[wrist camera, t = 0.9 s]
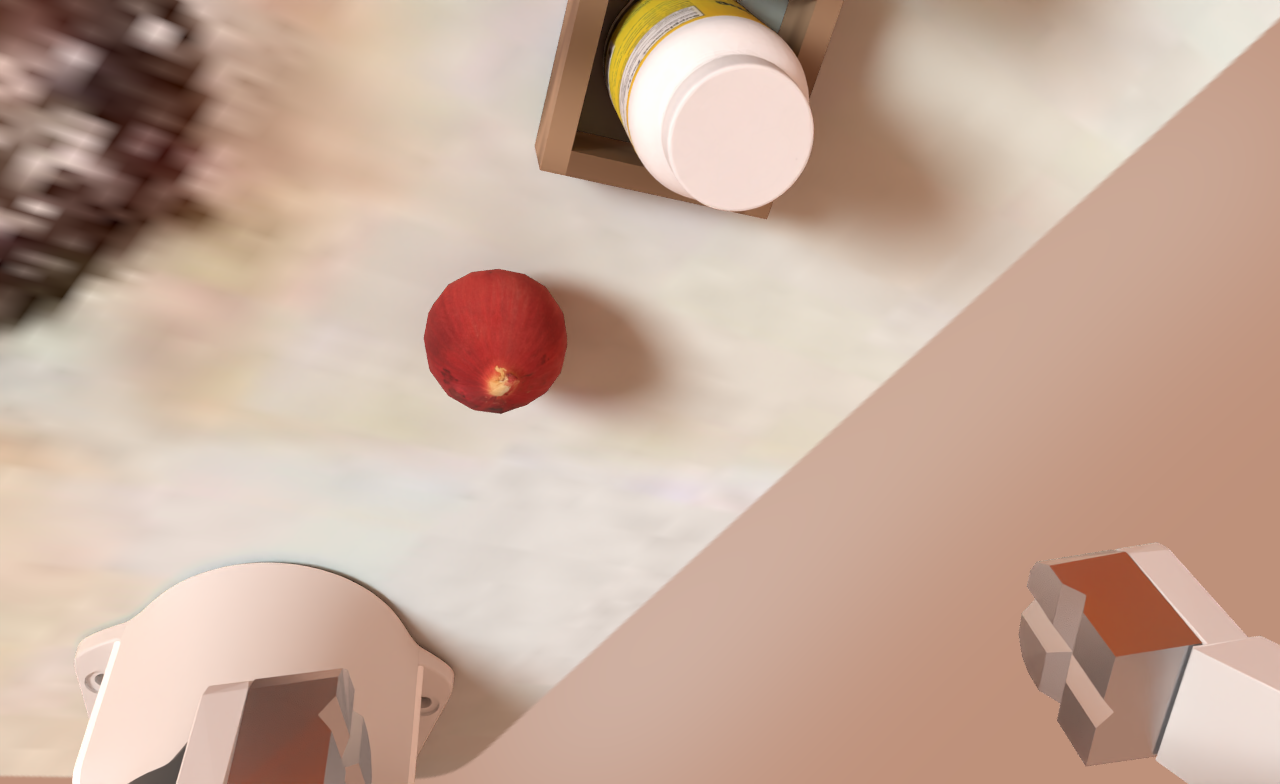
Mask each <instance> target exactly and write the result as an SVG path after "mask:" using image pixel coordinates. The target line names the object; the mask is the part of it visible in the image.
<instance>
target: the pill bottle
mask: <svg viewBox="0 0 1280 784" xmlns="http://www.w3.org/2000/svg"><path fill="white" fill-rule="evenodd" d="M603 74H604V80H605V84H606V88H607V91H608V94H609V97H610V99H611V102H612V104H613V106H614V108H615V110H616V112H617V114H618V116H619V118H620V120H621V122H622V124H623V127H624V129H625V131H626V133H627V135H628V137H629V139H630V141H631V143H632V145H633V147H634V150H635V152H636V153H637V155H638V157H639V159H640V160H641V162H642V163H643V165H644V166H645V168H646V169H647V170H648V171H649V173H650V174H651V175H652V176H653V177H654V178H655V179H656V180H657V181H658V182H660V183H661V184H662V185H663V186H665V187H666V188H668V189H670V190H671V191H673V192H675V193H677V194H680V195H682V196H685V197H688V198H691V199H695V200H697V201H699V202H700V203H702V204H704V205H706V206H708V207H711V208H714V209H718V210H723V211H746V210H751V209H755V208H758V207H761V206H763V205H766V204H768V203H770V202H772V201H773V200H775V199H777V198H778V197H779V196H781V195H782V194H783V193H785V192H786V191H787V190H788V189H789V188H790V187H791V186H792V185H793V184H794V183H795V182H796V180H797V179H798V178H799V176H800V175H801V173H802V172H803V170H804V168H805V166H806V164H807V162H808V160H809V157H810V154H811V150H812V145H813V140H814V121H813V116H812V111H811V108H810V106H809V91H808V86H807V81H806V78H805V74H804V71H803V69H802V66H801V64H800V62H799V60H798V58H797V57H796V55H795V53H794V52H793V51H792V49H791V48H790V47H789V45H788V44H787V43H786V42H785V41H784V40H783V39H782V38H781V37H780V36H779V35H778V34H777V33H776V32H774V31H773V30H772V29H770V28H769V27H768V26H766V25H765V24H764V23H762V22H761V21H760V20H758V19H757V18H756V17H755V16H754V15H752V14H751V13H750V12H749V11H747V10H746V9H745V8H744V7H743V6H741V5H739V4H738V3H737V2H736V1H735V0H631V1H630V2H629V3H628V4H627V5H626V6H625V7H624V8H623V9H622V11H621V12H620V13H619V14H618V16H617V17H616V19H615V21H614V22H613V24H612V26H611V28H610V30H609V33H608V36H607V39H606V42H605V46H604V53H603Z"/></svg>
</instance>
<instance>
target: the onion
mask: <svg viewBox="0 0 1280 784" xmlns="http://www.w3.org/2000/svg"><path fill="white" fill-rule="evenodd" d="M424 342H425V348H426V353H427V359H428V364H429V369H430V371H431V373H432V374H433V375H434V377H435V378H436V380H437V381H438V382H439V384H440V385H441V387H442V388H443V389H444V391H445V392H446V393H447V394H448V396H450V397H452V398H453V399H455V400H457V401H459V402H460V403H462V404H464V405H466V406H467V407H469V408H471V409H473V410H477V411H484V412H492V413H499V414H502V413H504V412H507V411H510V410H513V409H516V408H519V407H522V406H526V405H527V404H529V403H530V402H532V401H533V400H535V399H536V398H538V397H540V396H541V395H543V394H545V393H546V392H547V391H548V389H549V388H550V387H551V385H552V384H553V383H554V381H555V380H556V378H557V377H558V376H559V374H560V373H561V370H562V366H563V362H564V357H565V352H566V348H567V333H566V327H565V321H564V315H563V313H562V311H561V309H560V308H559V306H558V304H557V303H556V301H555V300H554V299H553V297H552V296H551V294H550V293H549V291H548V290H547V288H546V287H545V286H543V285H542V284H540V283H538V282H537V281H535V280H533V279H532V278H530V277H528V276H527V275H525V274H521V273H516V272H511V271H506V270H501V269H494V270H486V271H478V272H471V273H469V274H467V275H466V276H464V277H462V278H460V279H458V280H456V281H454V282H452V283H450V284H449V285H448V286H447V287H446V288H445V290H444V291H443V292H442V294H441V295H440V296H439V298H438V299H437V300H436V302H435V303H434V304H433V306H432V308H431V310H430V312H429V313H428V319H427V324H426V329H425V334H424Z"/></svg>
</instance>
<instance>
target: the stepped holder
mask: <svg viewBox="0 0 1280 784" xmlns="http://www.w3.org/2000/svg"><path fill="white" fill-rule="evenodd" d="M608 1H609V0H568V3H567V7H566V12H565V16H564V20H563V25H562V29H561V34H560V38H559V42H558V47H557V51H556V55H555V60H554V64H553V68H552V73H551V77H550V82H549V86H548V90H547V95H546V99H545V103H544V108H543V112H542V116H541V121H540V125H539V130H538V134H537V138H536V143H535V149H536V154H537V158H538V163H539V168H540V170H542V171H547V172H551V173H556V174H561V175H565V176H570V177H575V178H579V179H584V180H588V181H593V182H598V183H602V184H607V185H611V186H616V187H621V188H625V189H630V190H634V191H639V192H644V193H648V194H653V195H657V196H662V197H667V198H671V199H676V200H681V201H685V202H690V203H694V204H699V205H704V204H702V203H700V202H699V201H697V200H695V199H691V198H688V197H685V196H682V195H680V194H677V193H675V192H673V191H671V190H670V189H668V188H666V187H665V186H663V185H662V184H661V183H660V182H658V181H657V180H656V179H655V178H654V177H653V176H652V175H651V174H650V173H649V171H648V170H647V169H646V168H645V166H644V165H643V163H642V162H641V160H640V159H639V157H638V155H637V153H636V152H635V150H634V147H633V145H632V143H628V142H624V141H620V140H615V139H611V138H607V137H602V136H598V135H594V134H589V133H585V132H581V131H576V130H577V126H578V122H579V118H580V114H581V110H582V106H583V102H584V98H585V94H586V90H587V86H588V82H589V78H590V74H591V70H592V66H593V62H594V57H595V53H596V49H597V45H598V41H599V37H600V33H601V29H602V25H603V21H604V17H605V13H606V9H607V5H608ZM843 2H844V0H789V3H788V6H787V9H786V12H785V15H784V18H783V21H782V24H781V27H780V30H779V33H778V35H779V36H780V37H781V38H782V39H783V40H784V41H785V42H786V43H787V44H788V45H789V47H790V48H791V49H792V51H793V52H794V53H795V55H796V57H797V58H798V60H799V62H800V64H801V66H802V69H803V71H804V74H805V78H806V81H807V86H808V91H809V98H810V95H811V92H812V90H813V87H814V84H815V81H816V78H817V75H818V73H819V70H820V67H821V64H822V61H823V58H824V56H825V53H826V50H827V47H828V44H829V41H830V39H831V36H832V33H833V30H834V27H835V24H836V22H837V19H838V16H839V13H840V10H841V7H842V5H843ZM772 203H773V201H772V202H770V203H768V204H766V205H763V206H761V207H758V208H755V209H751V210H746V211H731V212H736V213H740V214H745V215H750V216H754V217H759V218H763V219H767V217H768V214H769V212H770V209H771V206H772ZM704 206H706V205H704Z"/></svg>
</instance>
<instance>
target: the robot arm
mask: <svg viewBox="0 0 1280 784" xmlns="http://www.w3.org/2000/svg"><path fill="white" fill-rule="evenodd" d="M1027 587H1028V589H1029V590H1030V592H1031V593H1032V594H1033V596H1034V598H1035V600H1034V601H1033V602H1032V603H1031V604H1030V605H1029V606H1028V607H1027V609H1026V610H1025V611H1024V612H1023V613H1022V616H1021V622H1020V629H1019V638H1020V646H1021V652H1022V657H1023V660H1024V662H1025V665H1026V668H1027V670H1028V673H1029V675H1030V676H1031V678H1032V680H1033V681H1034V683H1035V684H1036V686H1037V688H1038V690H1039V691H1041V692H1043V693H1044V694H1046V695H1047V696H1049V697H1051V698H1053V699H1054V700H1056V701H1058V702H1059V703H1060V708H1059V713H1058V719H1057V721H1058V723H1059V724H1060V725H1061V727H1062V729H1063V731H1064V732H1065V734H1066V735H1067V737H1068V739H1069V740H1070V741H1071V743H1072V745H1073V747H1074V748H1075V750H1076V751H1077V753H1078V754H1079V756H1080V758H1081V759H1082V761H1083V763H1084V764H1085V766H1092V765H1099V764H1106V763H1113V762H1120V761H1127V760H1134V759H1141V758H1148V757H1156V756H1157V757H1156V761H1158V762H1159V763H1160V764H1162V765H1163V766H1164V767H1166V768H1167V769H1169V770H1170V771H1172V772H1173V773H1174V774H1176V775H1177V776H1178V777H1180V778H1181V779H1183V780H1184V781H1186V782H1187V783H1188V784H1280V645H1279V644H1276V643H1274V642H1272V641H1270V640H1268V639H1266V638H1264V637H1262V636H1257V637H1249V638H1248V637H1247V636H1246V634H1245V633H1244V632H1243V631H1242V630H1241V629H1240V628H1239V627H1238V625H1237V624H1236V623H1235V622H1234V621H1233V620H1232V619H1231V618H1230V616H1228V614H1227V613H1226V612H1225V611H1224V610H1223V609H1222V608H1221V606H1219V604H1218V603H1217V602H1216V601H1215V600H1214V599H1213V598H1212V596H1211V595H1210V594H1209V593H1208V592H1207V591H1206V590H1205V589H1204V588H1203V586H1202V585H1201V584H1200V583H1199V582H1198V581H1197V580H1196V579H1195V577H1194V576H1193V575H1192V574H1191V573H1190V572H1189V571H1188V570H1187V569H1186V567H1185V566H1184V565H1183V564H1182V563H1181V562H1180V561H1179V560H1178V559H1177V557H1176V556H1175V555H1174V554H1173V553H1172V552H1171V551H1170V550H1169V549H1168V548H1167V547H1165V546H1163V545H1161V544H1159V543H1150V544H1144V545H1139V546H1132V547H1126V548H1120V549H1116V550H1107V551H1101V552H1095V553H1088V554H1082V555H1076V556H1070V557H1064V558H1058V559H1052V560H1046V561H1039V562H1036V564H1035V565H1034V566H1033V568H1032V569H1031V571H1030V575H1029V580H1028V584H1027ZM74 669H75V672H76V676H77V679H78V683H79V686H80V690H81V693H82V697H83V700H84V704H85V707H86V711H87V714H88V718H89V723H88V726H87V729H86V732H85V735H84V739H83V742H82V745H81V748H80V751H79V754H78V758H77V761H76V764H75V768H74V772H73V780H72V782H73V784H414V781H415V769H416V758H417V756H418V754H419V752H420V751H421V749H422V747H423V745H424V743H425V741H426V740H427V738H428V736H429V734H430V732H431V731H432V729H433V727H434V725H435V723H436V721H437V720H438V718H439V716H440V714H441V712H442V711H443V709H444V707H445V705H446V703H447V701H448V700H449V698H450V696H451V694H452V690H453V683H454V672H453V671H452V669H451V668H450V667H449V666H448V665H447V664H446V663H445V662H443V661H442V660H441V659H439V658H438V657H436V656H435V655H433V654H431V653H430V652H428V651H426V650H425V649H423V648H421V647H420V646H419V645H418V644H417V643H416V642H415V641H414V640H413V639H412V637H411V636H410V634H409V633H408V631H407V630H406V628H405V627H404V625H403V623H402V622H401V620H400V619H399V618H398V616H397V615H396V614H395V613H394V612H393V611H392V609H391V608H390V607H389V606H388V605H386V604H385V603H384V602H383V601H382V600H381V599H380V598H378V597H377V596H376V595H374V594H373V593H372V592H370V591H369V590H367V589H365V588H364V587H362V586H360V585H359V584H357V583H355V582H353V581H351V580H348V579H346V578H344V577H341V576H339V575H336V574H333V573H330V572H327V571H324V570H320V569H316V568H312V567H307V566H302V565H295V564H286V563H247V564H238V565H232V566H226V567H221V568H218V569H214V570H210V571H207V572H204V573H201V574H198V575H195V576H193V577H190V578H188V579H186V580H184V581H182V582H180V583H178V584H176V585H175V586H173V587H171V588H170V589H168V590H167V591H165V592H164V593H162V594H161V595H160V596H158V597H157V598H156V599H155V600H154V601H153V602H151V603H150V604H149V605H148V606H147V607H146V608H145V609H144V610H143V611H141V612H140V613H139V614H138V615H136V616H135V617H134V618H132V619H131V620H129V621H127V622H124V623H121V624H118V625H115V626H112V627H109V628H107V629H104V630H101V631H99V632H96V633H94V634H92V635H90V636H88V637H86V638H85V639H83V640H82V641H81V642H80V643H79V645H78V648H77V652H76V655H75V659H74ZM421 697H426V698H421Z"/></svg>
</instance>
